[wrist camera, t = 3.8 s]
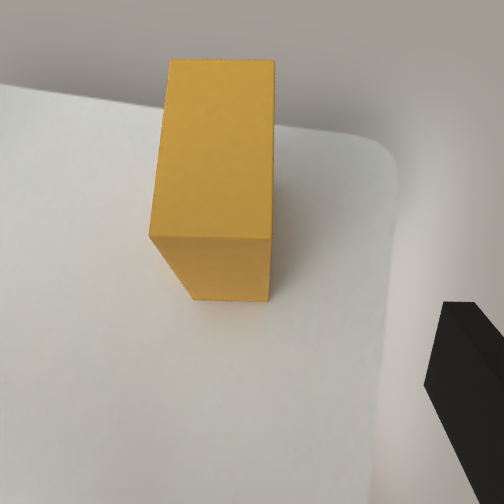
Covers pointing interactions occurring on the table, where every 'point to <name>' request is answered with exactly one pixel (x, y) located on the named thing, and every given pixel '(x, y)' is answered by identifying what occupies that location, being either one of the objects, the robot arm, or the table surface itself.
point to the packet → (217, 178)
